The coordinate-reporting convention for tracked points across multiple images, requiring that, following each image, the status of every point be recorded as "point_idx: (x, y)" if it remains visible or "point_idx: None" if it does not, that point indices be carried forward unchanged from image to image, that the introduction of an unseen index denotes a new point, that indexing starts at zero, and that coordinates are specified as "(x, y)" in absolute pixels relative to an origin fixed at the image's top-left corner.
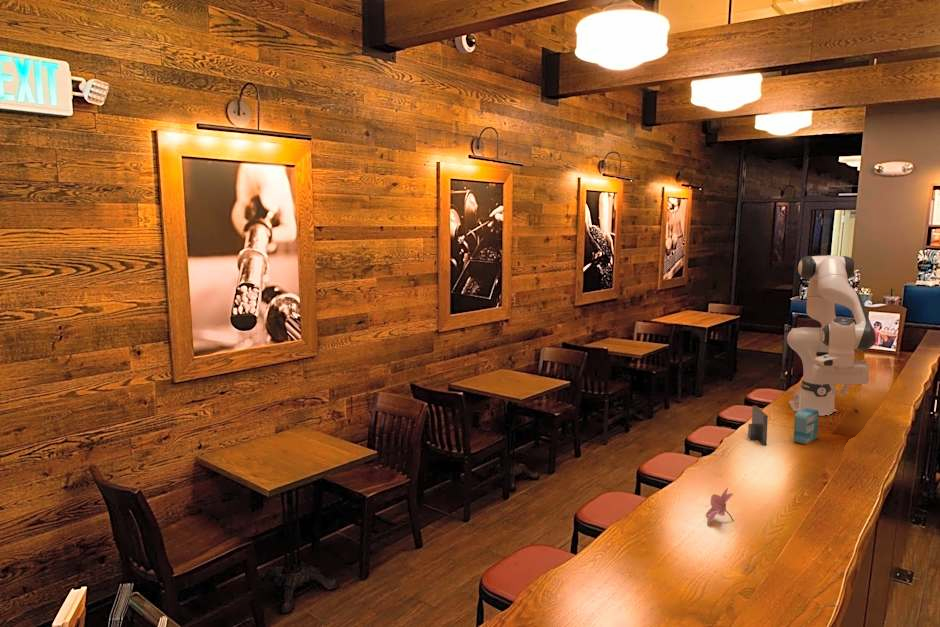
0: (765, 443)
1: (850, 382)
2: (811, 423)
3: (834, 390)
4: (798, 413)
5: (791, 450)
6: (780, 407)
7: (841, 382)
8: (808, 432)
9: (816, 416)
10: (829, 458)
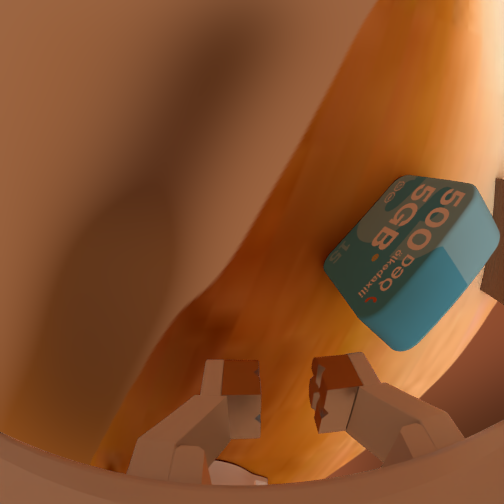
0: (501, 179)
1: (107, 494)
2: (409, 227)
3: (376, 383)
4: (495, 236)
5: (453, 125)
6: None
7: (338, 500)
8: (408, 198)
9: (375, 286)
10: (362, 38)
